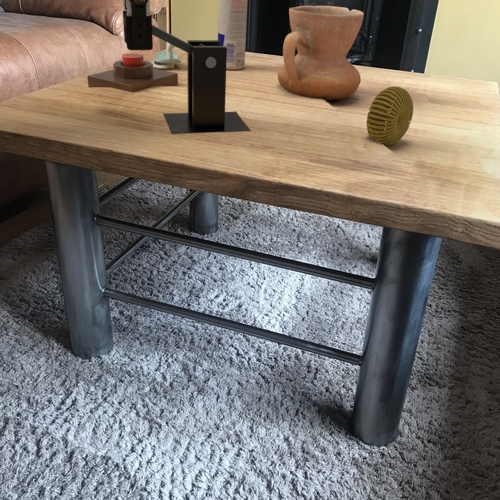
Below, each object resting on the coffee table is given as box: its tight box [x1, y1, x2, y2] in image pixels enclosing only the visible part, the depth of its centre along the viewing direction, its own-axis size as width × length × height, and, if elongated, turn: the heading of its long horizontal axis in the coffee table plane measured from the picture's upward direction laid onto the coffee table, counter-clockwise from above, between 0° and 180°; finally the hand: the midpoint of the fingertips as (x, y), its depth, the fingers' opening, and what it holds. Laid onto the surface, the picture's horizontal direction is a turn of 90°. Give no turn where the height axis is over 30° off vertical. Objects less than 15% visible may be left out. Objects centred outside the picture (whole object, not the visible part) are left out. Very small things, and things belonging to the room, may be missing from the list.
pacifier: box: [149, 33, 182, 70], centre depth 111 cm, size 7×6×6 cm
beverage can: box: [217, 0, 248, 71], centre depth 112 cm, size 6×6×15 cm
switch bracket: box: [162, 39, 252, 135], centre depth 77 cm, size 11×9×12 cm
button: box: [121, 52, 145, 67], centre depth 96 cm, size 4×4×2 cm
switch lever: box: [123, 13, 205, 55], centre depth 73 cm, size 13×3×3 cm, turn 105°
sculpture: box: [366, 86, 414, 147], centre depth 77 cm, size 8×4×8 cm, turn 136°
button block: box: [87, 59, 179, 94], centre depth 97 cm, size 12×10×4 cm
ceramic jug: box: [277, 5, 365, 101], centre depth 96 cm, size 18×14×14 cm
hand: (138, 45), depth 72 cm, fingers closed on switch lever, 3 cm apart
